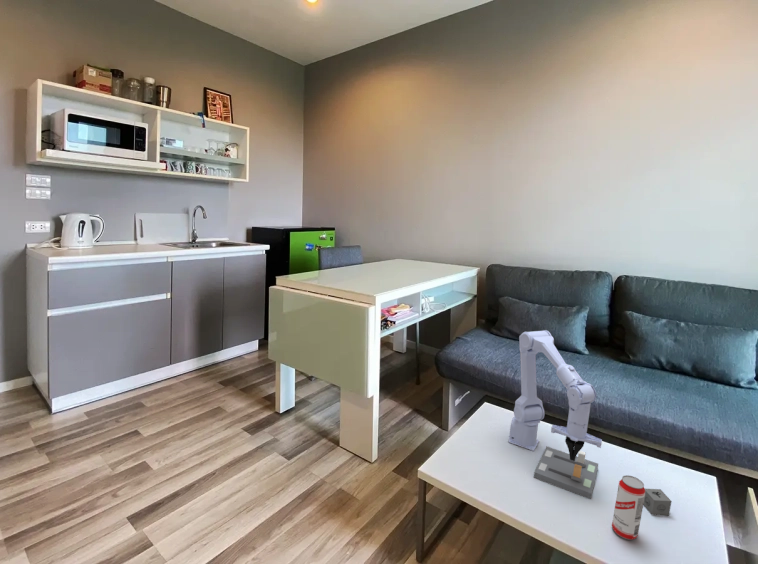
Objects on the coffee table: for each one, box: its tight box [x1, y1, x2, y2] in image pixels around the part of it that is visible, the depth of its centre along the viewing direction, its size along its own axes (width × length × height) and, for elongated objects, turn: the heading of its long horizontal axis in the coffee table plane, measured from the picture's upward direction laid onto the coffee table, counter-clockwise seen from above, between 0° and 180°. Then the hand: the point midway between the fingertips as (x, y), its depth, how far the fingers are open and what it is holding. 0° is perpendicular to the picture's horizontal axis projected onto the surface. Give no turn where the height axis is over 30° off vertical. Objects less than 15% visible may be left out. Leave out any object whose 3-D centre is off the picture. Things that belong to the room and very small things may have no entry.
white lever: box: [576, 450, 586, 468], centre depth 138 cm, size 3×2×4 cm
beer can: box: [611, 474, 646, 541], centre depth 111 cm, size 6×6×16 cm
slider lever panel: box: [533, 445, 599, 500], centre depth 137 cm, size 17×18×2 cm
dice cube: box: [643, 487, 672, 517], centre depth 121 cm, size 5×5×5 cm
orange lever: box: [571, 464, 582, 482], centre depth 131 cm, size 3×2×4 cm
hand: (572, 458), depth 131 cm, fingers closed
